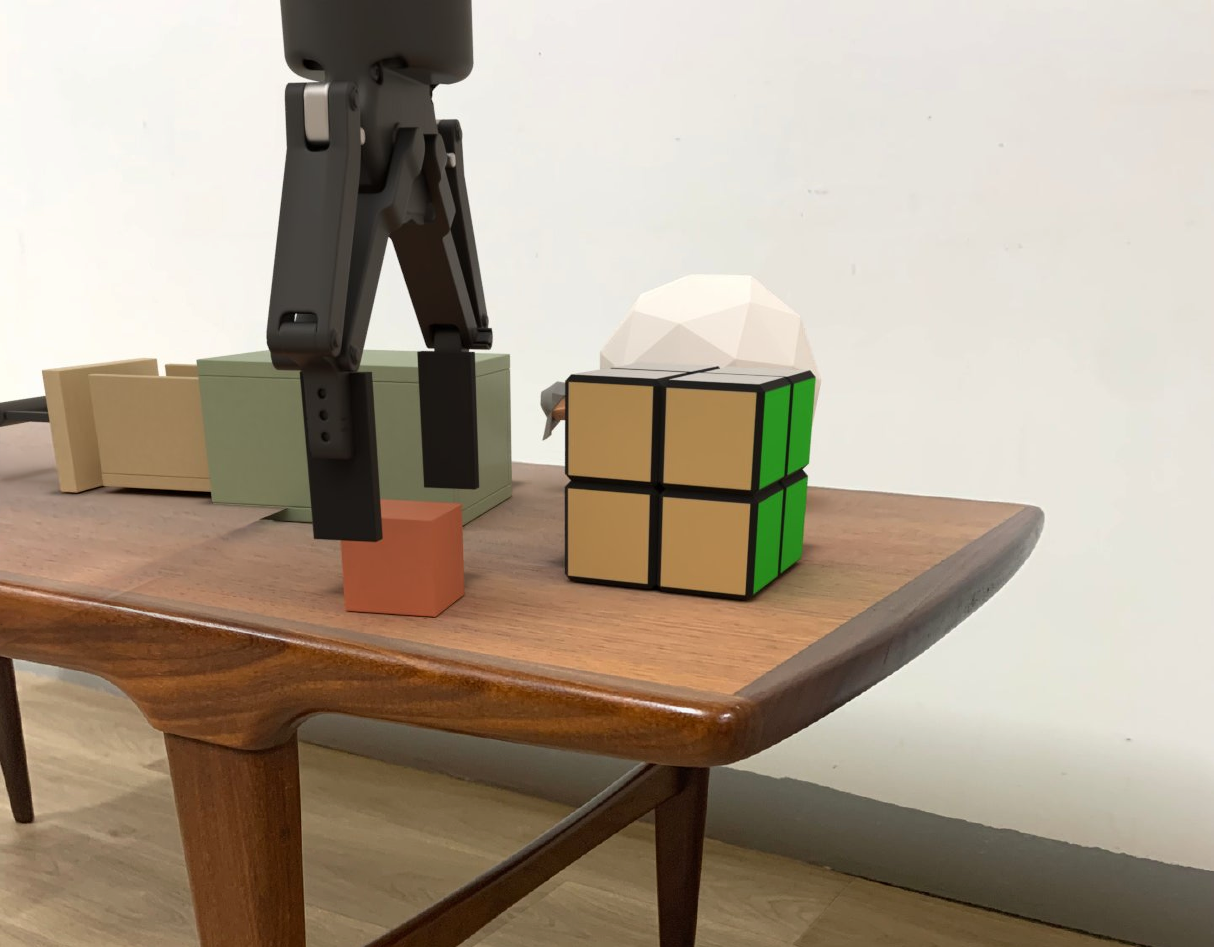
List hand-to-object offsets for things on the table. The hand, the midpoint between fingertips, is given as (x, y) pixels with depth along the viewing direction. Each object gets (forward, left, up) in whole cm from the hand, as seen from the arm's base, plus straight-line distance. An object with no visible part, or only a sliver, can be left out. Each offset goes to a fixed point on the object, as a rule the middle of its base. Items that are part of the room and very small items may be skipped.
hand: (405, 511), depth 57 cm
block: (0, 0, -4) cm, 4 cm away
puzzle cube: (+12, +10, -5) cm, 16 cm away
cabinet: (-11, +24, -4) cm, 26 cm away
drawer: (-26, +24, -3) cm, 35 cm away
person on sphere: (+8, +33, -5) cm, 34 cm away
